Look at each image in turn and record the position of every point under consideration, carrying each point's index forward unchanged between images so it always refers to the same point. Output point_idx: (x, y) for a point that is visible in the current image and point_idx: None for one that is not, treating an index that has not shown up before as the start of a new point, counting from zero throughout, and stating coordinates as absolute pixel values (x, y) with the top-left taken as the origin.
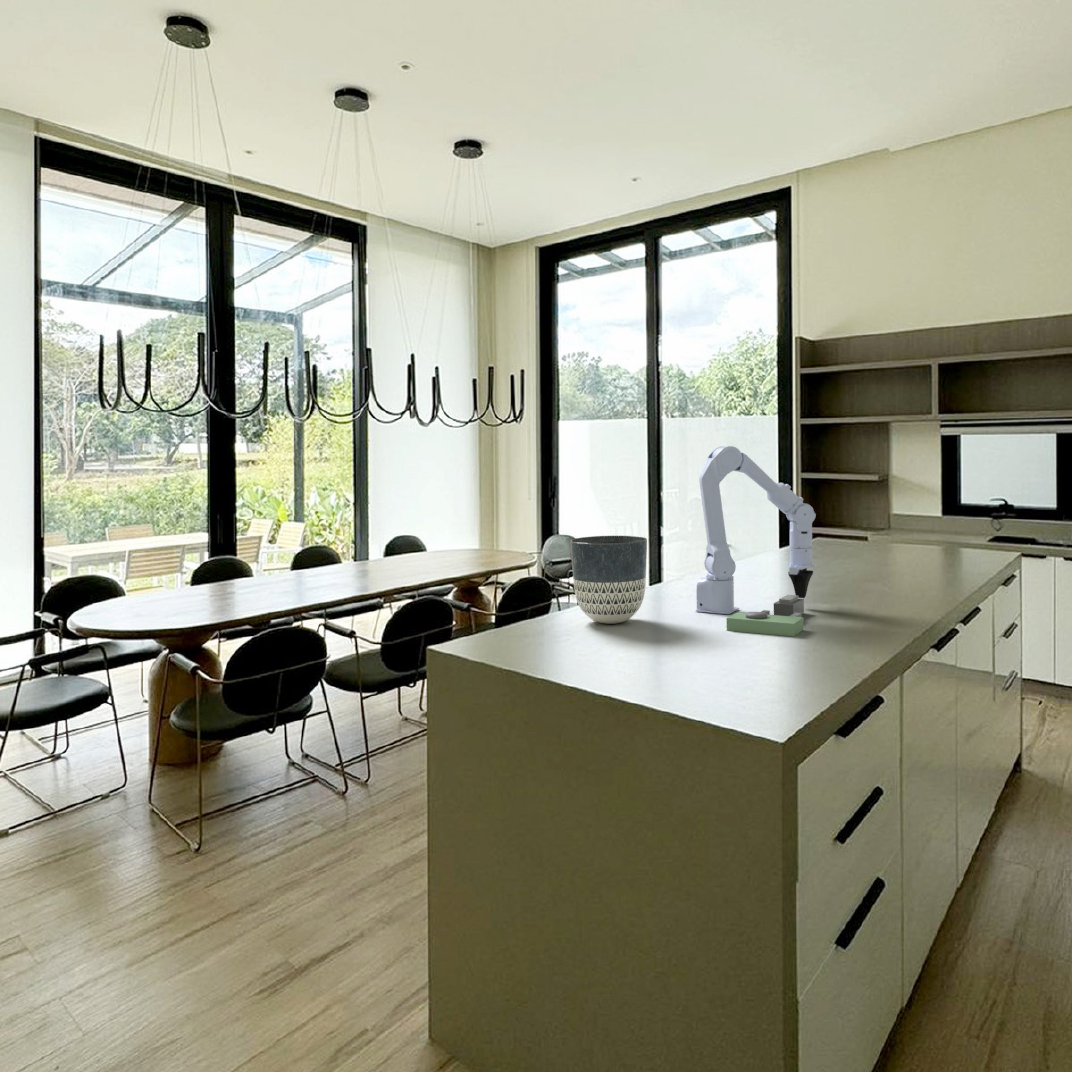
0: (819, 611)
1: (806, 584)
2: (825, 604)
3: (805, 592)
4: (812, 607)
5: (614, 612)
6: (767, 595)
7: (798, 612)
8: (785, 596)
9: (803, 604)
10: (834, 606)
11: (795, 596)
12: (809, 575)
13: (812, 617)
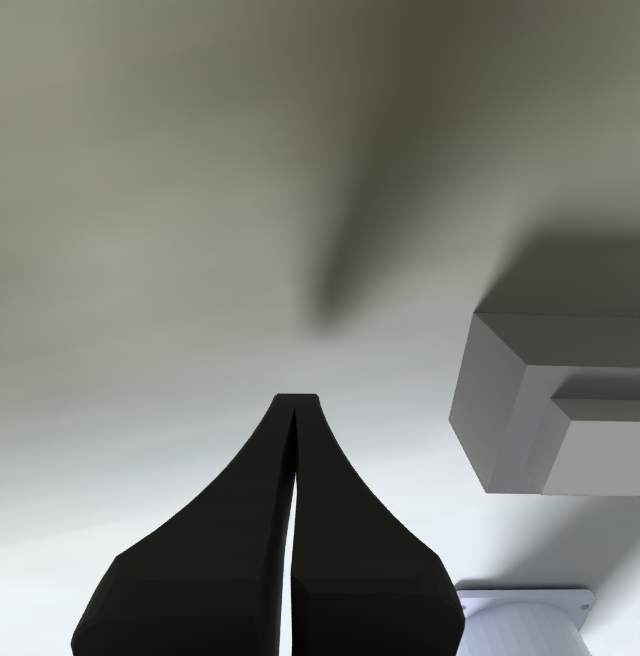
0: (372, 229)
1: (323, 468)
2: (63, 257)
3: (308, 415)
4: (235, 313)
5: None
6: (13, 589)
7: (615, 327)
8: (634, 489)
9: (514, 342)
10: (103, 167)
11: (628, 429)
12: (345, 557)
13: (625, 220)
